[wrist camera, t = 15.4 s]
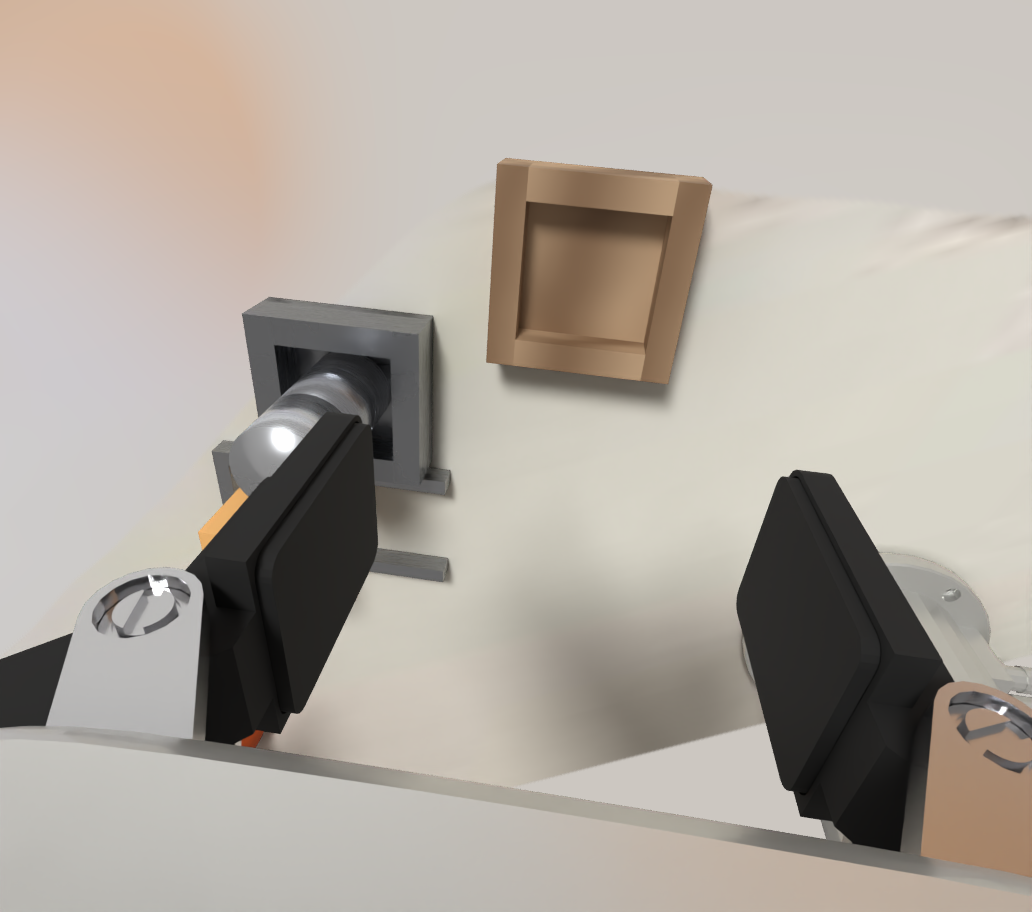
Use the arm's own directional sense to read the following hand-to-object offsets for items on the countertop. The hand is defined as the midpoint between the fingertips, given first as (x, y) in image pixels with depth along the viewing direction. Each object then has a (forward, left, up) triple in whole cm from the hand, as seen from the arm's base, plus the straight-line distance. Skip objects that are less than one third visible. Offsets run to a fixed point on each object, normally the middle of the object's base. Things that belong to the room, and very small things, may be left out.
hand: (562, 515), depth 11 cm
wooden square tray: (0, 0, -19) cm, 19 cm away
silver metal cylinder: (+11, +7, -18) cm, 22 cm away
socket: (+11, +7, -19) cm, 23 cm away
